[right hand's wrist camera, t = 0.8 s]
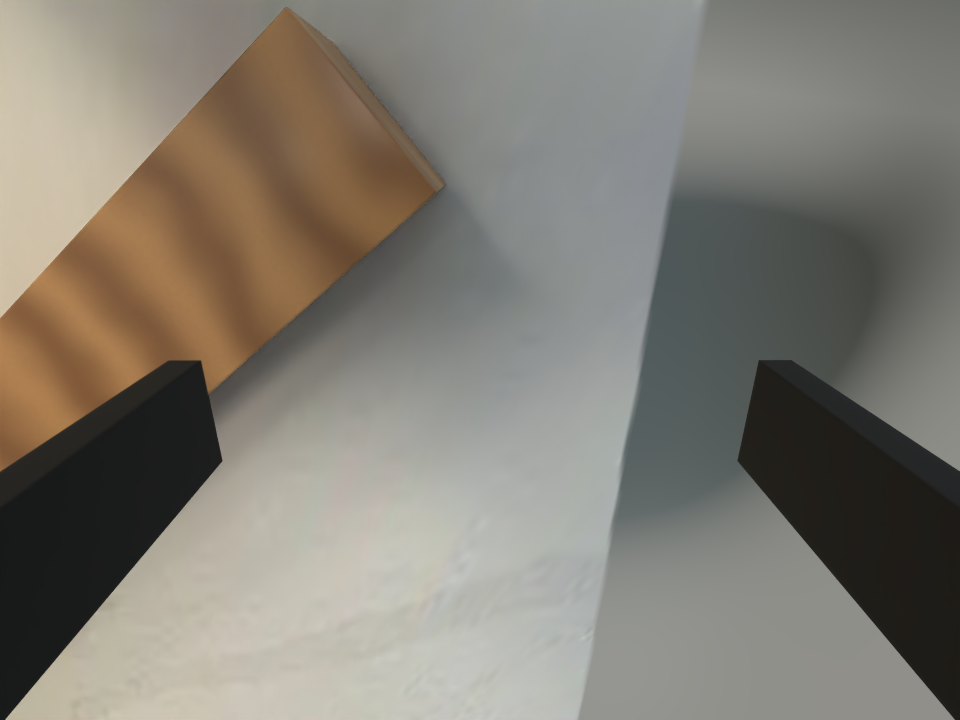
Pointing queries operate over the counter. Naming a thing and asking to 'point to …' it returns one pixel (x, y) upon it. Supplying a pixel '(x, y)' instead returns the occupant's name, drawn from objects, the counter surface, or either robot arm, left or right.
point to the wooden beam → (214, 235)
